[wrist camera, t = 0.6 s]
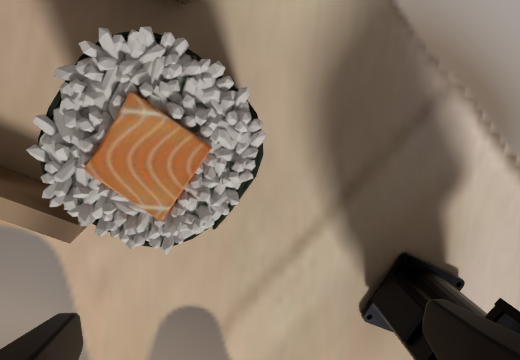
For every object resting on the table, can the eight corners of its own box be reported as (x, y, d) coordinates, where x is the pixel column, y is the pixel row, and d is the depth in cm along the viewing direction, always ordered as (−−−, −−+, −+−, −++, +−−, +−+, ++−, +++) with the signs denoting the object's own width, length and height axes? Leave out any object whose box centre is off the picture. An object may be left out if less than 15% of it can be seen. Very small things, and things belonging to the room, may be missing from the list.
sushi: (269, 113, 18) (305, 125, 11) (195, 216, 20) (180, 292, 12) (155, 25, 16) (98, -37, 9) (80, 147, 17) (-28, 188, 10)
